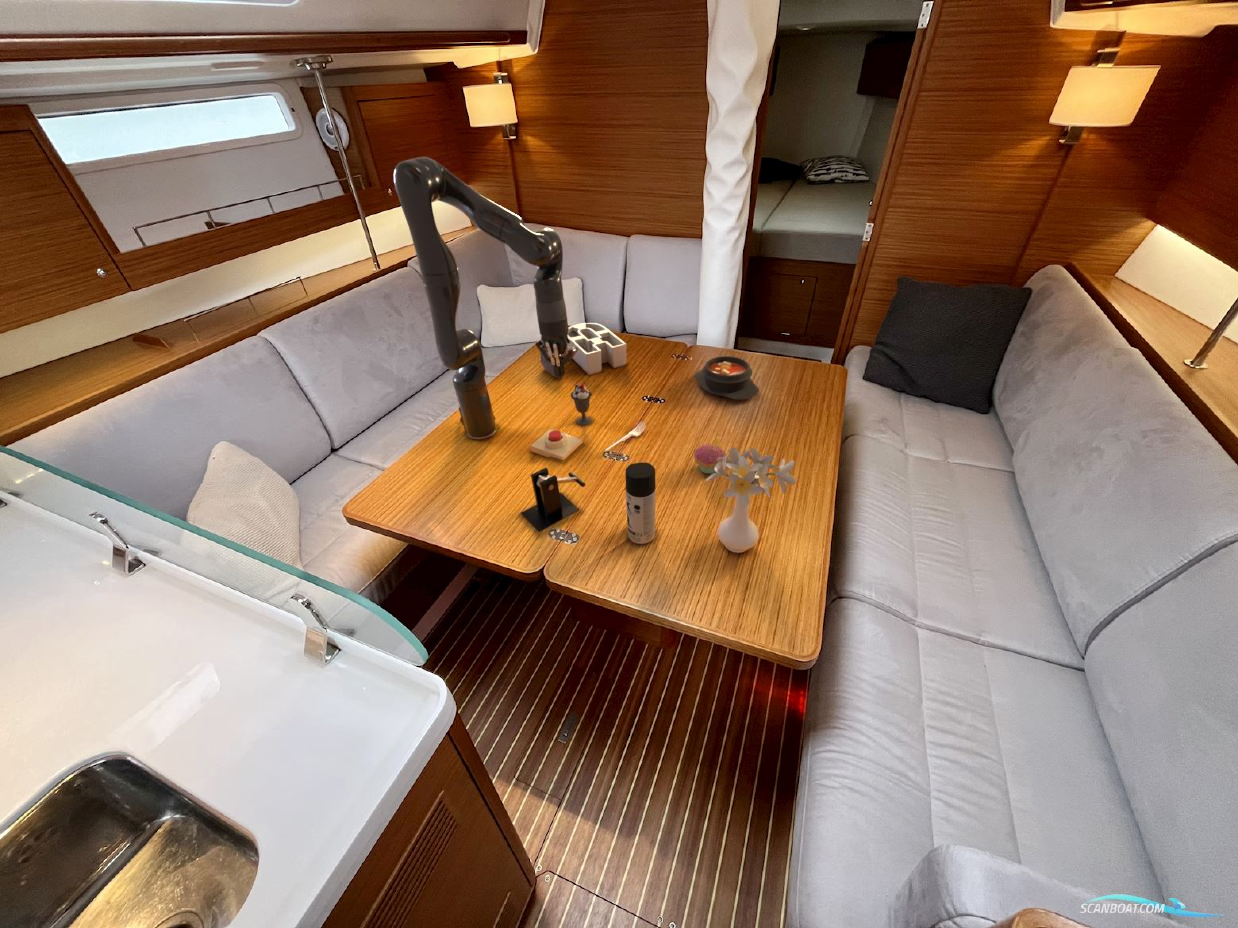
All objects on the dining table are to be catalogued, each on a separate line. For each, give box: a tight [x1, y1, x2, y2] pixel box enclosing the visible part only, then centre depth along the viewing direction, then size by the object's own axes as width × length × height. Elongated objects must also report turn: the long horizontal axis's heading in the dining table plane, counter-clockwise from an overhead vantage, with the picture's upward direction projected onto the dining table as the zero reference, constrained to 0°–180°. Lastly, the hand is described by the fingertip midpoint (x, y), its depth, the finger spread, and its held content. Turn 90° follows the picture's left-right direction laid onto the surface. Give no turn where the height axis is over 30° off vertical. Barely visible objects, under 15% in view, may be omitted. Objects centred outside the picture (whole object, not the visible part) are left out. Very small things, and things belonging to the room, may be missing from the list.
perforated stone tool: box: [540, 352, 563, 380], centre depth 186 cm, size 15×5×7 cm, turn 28°
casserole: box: [694, 355, 760, 401], centre depth 171 cm, size 25×19×8 cm
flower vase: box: [705, 446, 797, 554], centre depth 109 cm, size 13×18×25 cm
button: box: [549, 429, 562, 442], centre depth 147 cm, size 4×4×2 cm
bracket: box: [520, 467, 580, 533], centre depth 123 cm, size 12×9×13 cm
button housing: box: [529, 428, 583, 461], centre depth 149 cm, size 12×10×4 cm
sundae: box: [570, 381, 593, 427], centre depth 156 cm, size 7×7×15 cm
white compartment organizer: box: [568, 322, 627, 375], centre depth 196 cm, size 17×28×9 cm, turn 27°
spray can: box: [625, 461, 657, 545], centre depth 114 cm, size 7×7×20 cm
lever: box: [537, 471, 586, 488], centre depth 124 cm, size 12×6×2 cm, turn 129°
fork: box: [605, 421, 648, 451], centre depth 150 cm, size 3×20×2 cm, turn 137°
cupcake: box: [693, 434, 726, 475], centre depth 135 cm, size 9×8×12 cm
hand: (560, 376), depth 137 cm, fingers closed
